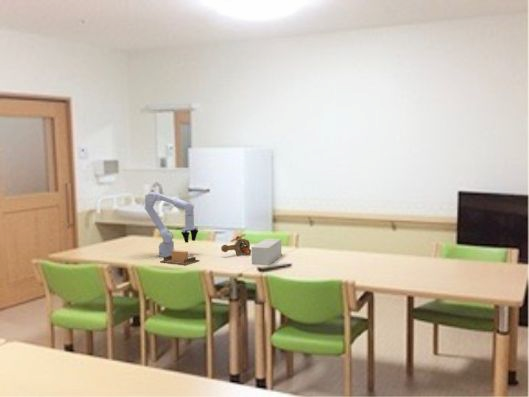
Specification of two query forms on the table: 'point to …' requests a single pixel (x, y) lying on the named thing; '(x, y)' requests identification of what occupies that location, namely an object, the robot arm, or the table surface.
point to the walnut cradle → (186, 261)
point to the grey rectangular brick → (266, 251)
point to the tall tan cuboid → (179, 255)
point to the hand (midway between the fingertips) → (190, 241)
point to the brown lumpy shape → (238, 246)
